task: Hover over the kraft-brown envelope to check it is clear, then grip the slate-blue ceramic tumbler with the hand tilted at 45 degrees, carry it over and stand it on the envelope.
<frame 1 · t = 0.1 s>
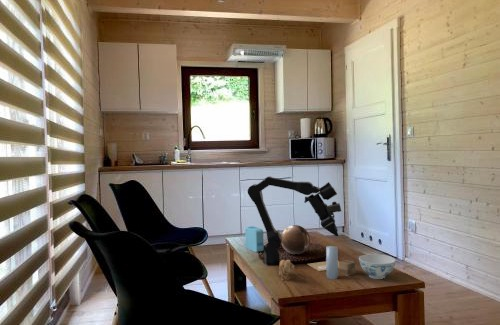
hand: (337, 233, 196), 15 cm above the table, tool tilted 30°, fingers open, 9 cm apart
tumbler: (332, 277, 179), on the table
chinaware: (377, 277, 179), on the table
data package: (254, 250, 229), on the table
walnut block: (347, 273, 185), on the table
envelope: (328, 265, 196), on the table
lion figurine: (285, 277, 181), on the table
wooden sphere: (295, 254, 218), on the table
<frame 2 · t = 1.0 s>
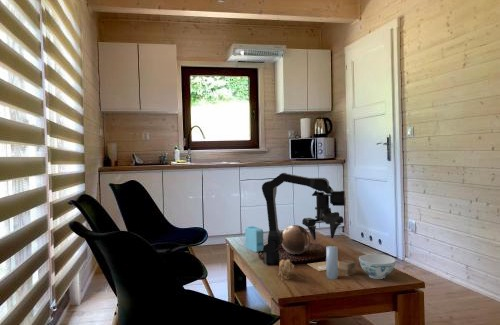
hand: (323, 239, 194), 13 cm above the table, tool pointing down, fingers open, 9 cm apart
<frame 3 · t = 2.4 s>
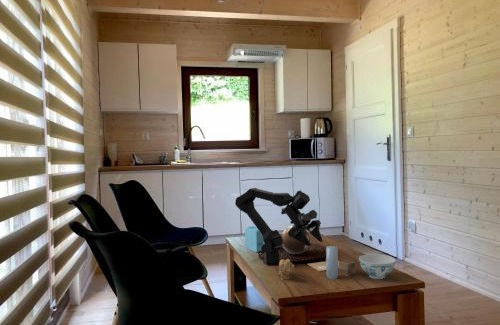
hand: (316, 243, 184), 13 cm above the table, tool tilted 45°, fingers open, 9 cm apart
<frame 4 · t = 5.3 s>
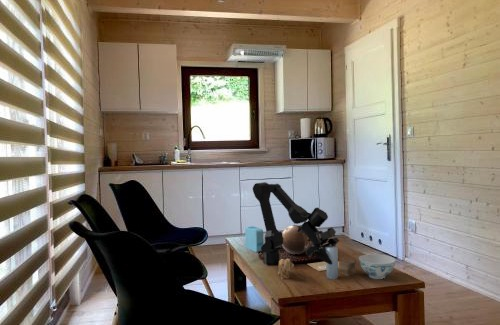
hand: (334, 262, 178), 7 cm above the table, tool tilted 45°, fingers closed on tumbler, 5 cm apart
tumbler: (332, 277, 179), on the table, touching gripper
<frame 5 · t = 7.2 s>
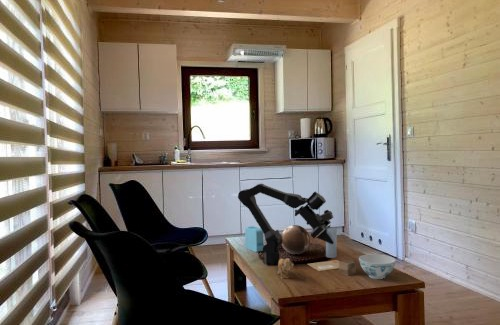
hand: (334, 242, 190), 12 cm above the table, tool tilted 45°, fingers closed on tumbler, 5 cm apart
tumbler: (331, 256, 191), point 6 cm above the table, touching gripper
when the fingers open (8 cm above the table, at t = 9.0 s): tumbler stays where it is, resting on envelope.
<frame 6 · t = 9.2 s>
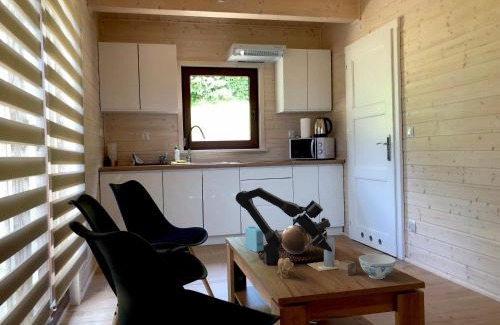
hand: (332, 249, 195), 8 cm above the table, tool tilted 45°, fingers open, 7 cm apart
tumbler: (329, 265, 195), resting on envelope
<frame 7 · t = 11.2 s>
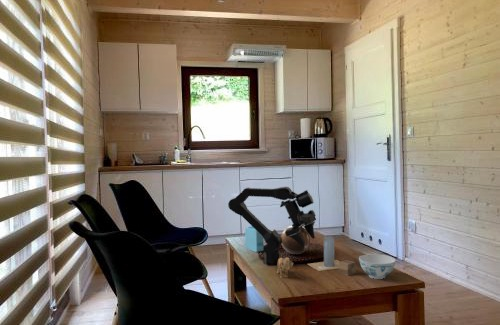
hand: (308, 242, 197), 11 cm above the table, tool tilted 25°, fingers open, 9 cm apart
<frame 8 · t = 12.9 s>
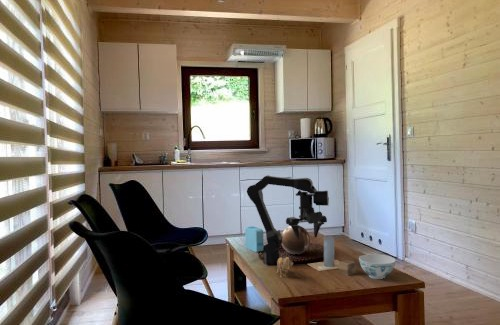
hand: (306, 238, 197), 13 cm above the table, tool pointing down, fingers open, 9 cm apart
at the end: tumbler inside the target area on the envelope (1.0 cm from its centre), point 0.3 cm above the envelope's base; tumbler tilted 1°; the gripper is holding nothing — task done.
